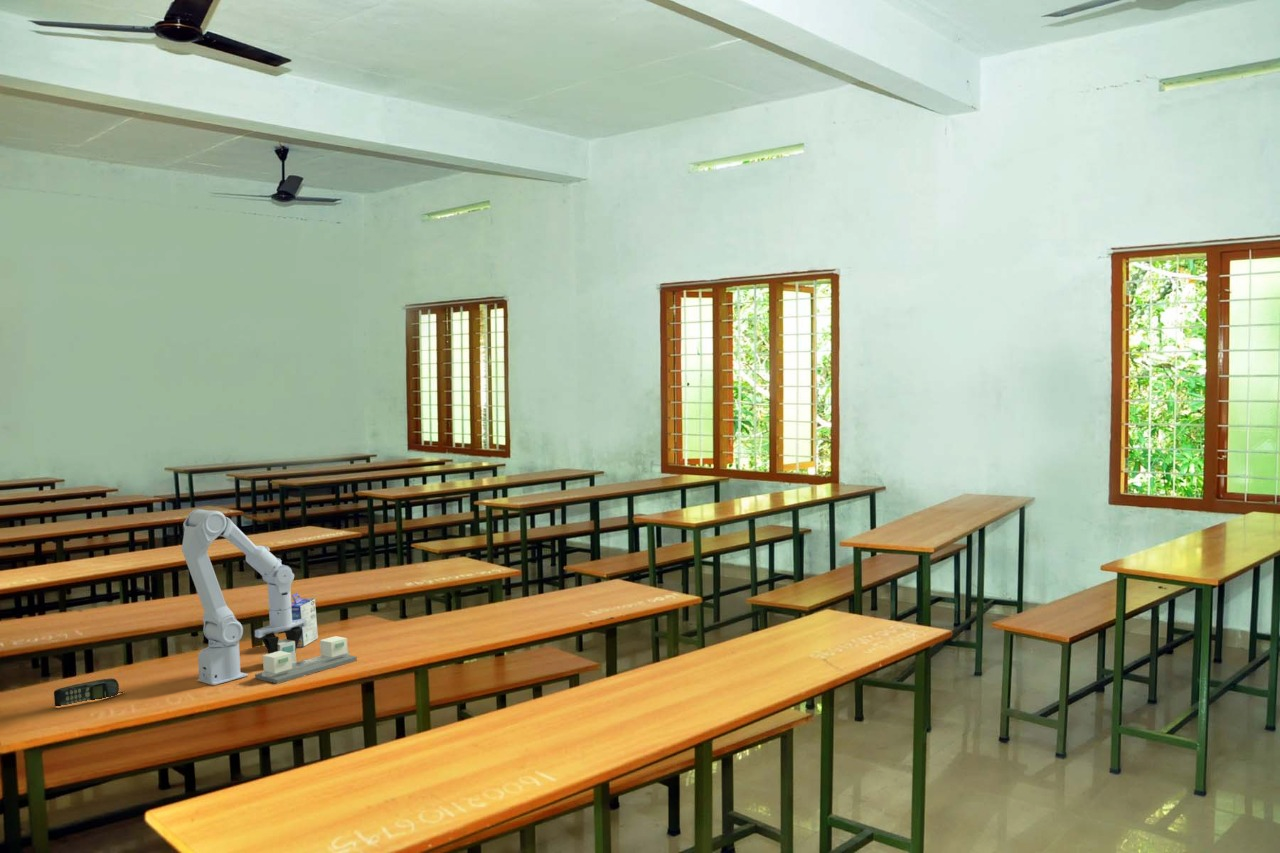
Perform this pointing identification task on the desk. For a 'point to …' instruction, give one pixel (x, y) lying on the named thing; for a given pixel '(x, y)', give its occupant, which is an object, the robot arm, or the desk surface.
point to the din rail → (304, 664)
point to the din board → (308, 670)
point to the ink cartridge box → (305, 611)
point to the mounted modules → (284, 659)
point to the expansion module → (287, 647)
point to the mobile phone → (86, 691)
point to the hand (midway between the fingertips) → (283, 658)
